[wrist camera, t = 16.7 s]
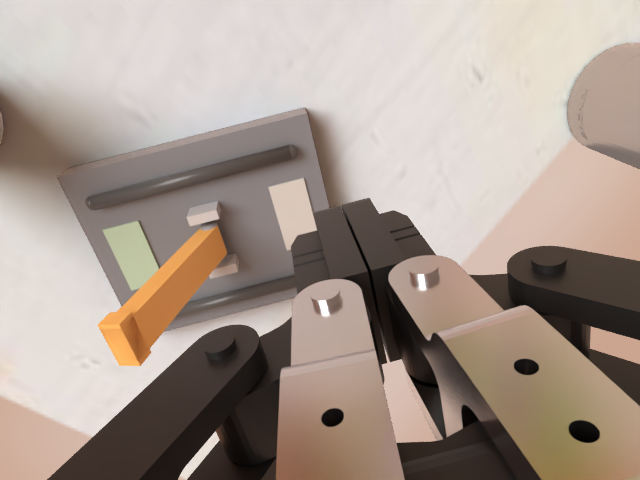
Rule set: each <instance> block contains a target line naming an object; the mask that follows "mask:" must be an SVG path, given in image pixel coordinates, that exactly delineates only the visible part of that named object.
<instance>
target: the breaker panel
mask: <svg viewBox="0 0 640 480" xmlns="http://www.w3.org/2000/svg"><path fill="white" fill-rule="evenodd" d="M57 178H58V180H59V182H60V184H61V186H62V188H63V190H64V192H65V194H66V196H67V198H68V200H69V202H70V204H71V206H72V208H73V210H74V212H75V214H76V216H77V218H78V220H79V222H80V224H81V226H82V228H83V230H84V232H85V234H86V236H87V238H88V240H89V242H90V244H91V246H92V248H93V250H94V252H95V254H96V256H97V258H98V260H99V262H100V264H101V266H102V268H103V270H104V272H105V274H106V276H107V278H108V280H109V282H110V284H111V286H112V288H113V290H114V292H115V294H116V296H117V298H118V300H119V302H120V304H121V306H123V305H124V304H125V303H126V302H127V301H128V300H129V299H130V298H131V297H132V296H133V295H134V294H135V293H136V292H137V291H138V290H139V289H140V288H141V287H142V286H143V285H144V284H145V283H146V282H147V281H148V280H149V279H150V278H151V277H152V276H153V275H154V274H155V273H156V272H157V271H158V270H159V269H160V268H161V267H162V266H163V265H164V264H165V263H166V262H167V261H168V260H169V259H170V258H171V257H172V256H173V255H174V254H175V253H176V252H177V251H178V250H179V249H180V248H181V247H182V246H183V245H184V244H185V243H186V242H187V241H188V240H189V239H190V238H191V237H192V236H193V235H194V234H195V233H196V232H197V231H198V230H199V229H200V226H201V225H202V224H203V223H205V222H209V221H213V220H215V221H217V224H218V227H219V230H220V233H221V235H222V238H223V241H224V244H225V247H226V249H227V252H228V255H227V256H226V257H224V258H223V259H222V260H221V262H220V263H219V264H218V265H217V266H216V268H215V269H214V270H213V271H212V273H211V274H210V275H209V276H208V278H207V279H206V280H205V281H204V282H203V284H202V285H201V286H200V287H199V289H198V290H197V291H196V292H195V293H194V295H193V296H192V297H191V298H190V300H189V301H188V302H187V303H186V305H185V306H184V307H183V308H182V309H181V311H180V312H179V313H178V314H177V316H176V317H175V318H174V319H173V320H172V322H171V323H170V324H169V325H168V327H167V328H166V329H165V330H164V331H167V330H171V329H175V328H179V327H183V326H186V325H190V324H194V323H198V322H202V321H206V320H210V319H213V318H217V317H221V316H225V315H229V314H233V313H237V312H240V311H244V310H248V309H252V308H256V307H260V306H263V305H267V304H271V303H275V302H279V301H283V300H287V299H290V298H294V297H296V296H297V288H296V280H295V273H294V266H293V258H292V252H291V245H292V244H293V242H294V240H295V239H296V237H297V235H301V234H305V233H309V232H313V231H316V230H317V228H316V224H315V220H314V216H313V212H317V211H320V210H324V209H328V208H329V204H328V200H327V195H326V191H325V187H324V183H323V178H322V174H321V170H320V166H319V162H318V157H317V153H316V149H315V145H314V140H313V136H312V132H311V128H310V124H309V119H308V115H307V112H306V110H305V108H300V109H296V110H292V111H289V112H285V113H281V114H277V115H273V116H269V117H265V118H261V119H257V120H254V121H250V122H246V123H242V124H238V125H234V126H230V127H226V128H222V129H218V130H215V131H211V132H207V133H203V134H199V135H195V136H191V137H187V138H183V139H179V140H176V141H172V142H168V143H164V144H160V145H156V146H152V147H148V148H144V149H141V150H137V151H133V152H129V153H125V154H121V155H117V156H113V157H109V158H105V159H102V160H98V161H94V162H90V163H86V164H82V165H78V166H74V167H70V168H68V169H67V170H65V171H64V172H63V173H62V174H61V175H59V176H58V177H57Z"/></svg>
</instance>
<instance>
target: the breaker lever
mask: <svg viewBox="0 0 640 480" xmlns="http://www.w3.org/2000/svg"><path fill="white" fill-rule="evenodd" d="M227 255H228V252H227V249H226V247H225V244H224V241H223V238H222V235H221V233H220V230H219V227H218V224H217V221H215V220H213V221H209V222H205V223H203V224H202V225H201V226H200V229H199V230H198V231H197V232H196V233H195V234H194V235H193V236H192V237H191V238H190V239H189V240H188V241H187V242H186V243H185V244H184V245H183V246H182V247H181V248H180V249H179V250H178V251H177V252H176V253H175V254H174V255H173V256H172V257H171V258H170V259H169V260H168V261H167V262H166V263H165V264H164V265H163V266H162V267H161V268H160V269H159V270H158V271H157V272H156V273H155V274H154V275H153V276H152V277H151V278H150V279H149V280H148V281H147V282H146V283H145V284H144V285H143V286H142V287H141V288H140V289H139V290H138V291H137V292H136V293H135V294H134V295H133V296H132V297H131V298H130V299H129V300H128V301H127V302H126V303H125V304H124V305H123V306H122V307H121V308H120V309H119V310H118V311H117V312H112V313H109V314H108V315H107V316H106V317H105V318H104V319H103V320H102V321H101V322H100V323H99V324H98V327H99V329H100V330H101V332H102V334H103V336H104V338H105V340H106V341H107V343H108V345H109V347H110V349H111V351H112V353H113V354H114V356H115V358H116V360H117V362H118V364H119V365H121V366H141V365H142V363H143V362H144V361H145V360H146V358H147V357H148V356H149V355H150V353H151V351H150V347H151V346H152V345H153V344H154V343H155V341H156V340H157V339H158V338H159V336H160V335H161V334H162V333H163V332H164V330H165V329H166V328H167V327H168V325H169V324H170V323H171V322H172V320H173V319H174V318H175V317H176V316H177V314H178V313H179V312H180V311H181V309H182V308H183V307H184V306H185V305H186V303H187V302H188V301H189V300H190V298H191V297H192V296H193V295H194V293H195V292H196V291H197V290H198V289H199V287H200V286H201V285H202V284H203V282H204V281H205V280H206V279H207V278H208V276H209V275H210V274H211V273H212V271H213V270H214V269H215V268H216V266H217V265H218V264H219V263H220V262H221V260H222V259H223V258H224V257H226V256H227Z"/></svg>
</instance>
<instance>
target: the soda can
mask: <svg viewBox="0 0 640 480" xmlns="http://www.w3.org/2000/svg"><path fill="white" fill-rule="evenodd" d="M3 132H4V127H3V119H2V114H1V112H0V144H1V141H2V137H3Z"/></svg>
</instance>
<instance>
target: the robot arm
mask: <svg viewBox="0 0 640 480" xmlns="http://www.w3.org/2000/svg"><path fill="white" fill-rule="evenodd" d="M567 116H568V124H569V127H570V130H571V132H572V134H573V135H574V137H575V138H576V139H577V140H578V141H579V142H580V143H581V144H582V145H584V146H586V147H588V148H590V149H592V150H595V151H598V152H600V153H602V154H605V155H607V156H610V157H612V158H614V159H616V160H619V161H621V162H623V163H626V164H628V165H631V166H633V167H636V168H638V169H640V43H625V44H621V45H617V46H614V47H612V48H610V49H608V50H606V51H604V52H603V53H601V54H600V55H598V56H597V57H596V58H594V59H593V60H592V61H591V62H590V63H589V64H588V65H587V66H586V67H585V68H584V70H583V71H582V73H581V74H580V75H579V77H578V78H577V80H576V82H575V84H574V86H573V88H572V90H571V94H570V97H569V100H568V109H567ZM342 211H343V212H342ZM313 216H314V220H315V224H316V228H317V230H316V231H313V232H309V233H305V234H301V235H297V237H296V239H295V240H294V242H293V244H292V245H291V252H292V258H293V266H294V273H295V280H296V288H297V296H296V297H295V299H294V301H293V303H292V317H291V318H290V319H289V320H288V321H287V322H285V323H284V324H283V325H281V326H280V327H278V328H276V329H275V330H273V331H271V332H269V333H267V334H265V335H263V336H261V337H259V336H258V334H257V332H256V331H255V330H254V329H253V328H251V327H249V326H245V325H229V326H225V327H221V328H218V329H215V330H213V331H211V332H209V333H207V334H205V335H204V336H202V337H201V338H199V339H198V340H197V341H196V342H195V343H194V344H193V345H191V346H190V347H189V348H188V349H187V350H186V351H185V352H184V353H183V354H182V355H181V356H180V357H179V358H177V359H176V360H175V361H174V362H173V363H172V364H171V365H170V366H169V367H168V368H167V369H166V370H165V371H164V372H162V373H161V374H160V375H159V376H158V377H157V378H156V379H155V380H154V381H153V382H152V383H151V384H150V385H148V386H147V387H146V388H145V389H144V390H143V391H142V392H141V393H140V394H139V395H138V396H137V397H136V398H134V399H133V400H132V401H131V402H130V403H129V404H128V405H127V406H126V407H125V408H124V409H123V410H122V411H121V412H119V413H118V414H117V415H116V416H115V417H114V418H113V419H112V420H111V421H110V422H109V423H108V424H107V425H105V426H104V427H103V428H102V429H101V430H100V431H99V432H98V433H97V434H96V435H95V436H94V437H93V438H91V439H90V440H89V441H88V442H87V443H86V444H85V445H84V446H83V447H82V448H81V449H80V450H79V451H78V452H76V453H75V454H74V455H73V456H72V457H71V458H70V459H69V460H68V461H67V462H66V463H65V464H64V465H62V466H61V467H60V468H59V469H58V470H57V471H56V472H55V473H54V474H53V475H52V476H51V477H50V478H48V479H47V480H178V478H179V476H180V474H181V472H182V470H183V469H184V467H185V466H186V465H187V464H188V463H189V461H190V460H191V459H192V458H193V457H194V456H195V454H196V453H197V452H198V451H199V450H200V448H201V447H202V446H203V445H204V444H205V443H206V441H207V440H208V439H209V438H210V437H211V436H212V434H213V433H214V432H215V431H216V433H217V435H218V437H219V439H220V441H219V442H218V443H217V444H216V445H215V447H214V448H213V449H212V450H211V451H210V453H209V454H208V455H207V456H206V457H205V459H204V460H203V461H202V462H201V463H200V465H199V466H198V467H197V468H196V469H195V471H194V472H193V473H192V474H191V475H190V477H189V478H188V479H187V480H640V364H636V363H634V362H631V361H627V360H624V359H621V358H618V357H615V356H611V355H608V354H605V353H602V352H598V351H596V350H592V349H590V329H591V326H592V327H595V328H599V329H602V330H606V331H609V332H613V333H616V334H620V335H623V336H627V337H630V338H634V339H638V340H640V261H636V260H630V259H625V258H620V257H614V256H609V255H603V254H598V253H592V252H587V251H581V250H576V249H570V248H565V247H558V246H540V247H533V248H529V249H525V250H523V251H520V252H518V253H516V254H515V255H513V256H512V257H511V258H510V259H509V261H508V263H507V274H496V275H468V274H467V273H466V272H465V271H464V270H463V269H462V268H461V267H460V266H459V265H458V264H457V263H456V262H455V261H453V260H452V259H449V258H447V257H443V256H436V254H435V253H434V252H433V250H432V249H431V248H430V246H429V245H428V243H427V242H426V241H425V239H424V238H423V237H422V235H420V233H419V231H418V230H417V229H416V227H414V224H413V223H412V222H411V220H410V219H409V218H408V216H406V215H403V214H401V213H399V212H396V211H394V210H393V211H390V212H386V213H382V214H379V213H378V211H377V210H376V208H375V206H374V205H373V203H372V202H371V200H370V198H367V199H363V200H359V201H355V202H351V203H347V204H343V205H342V210H341V207H340V206H336V207H332V208H328V209H324V210H320V211H317V212H313ZM383 345H384V346H383ZM384 347H385V350H386V352H387V355H388V358H389V360H390V362H392V361H396V360H400V359H402V360H403V363H404V365H405V369H406V374H407V380H408V385H409V388H410V390H411V392H412V394H413V396H414V398H415V400H416V402H417V404H418V405H419V407H420V409H421V411H422V413H423V415H424V417H425V419H426V421H427V423H428V425H429V427H430V429H431V430H432V432H433V434H434V436H435V438H436V440H437V441H434V442H410V443H396V439H395V435H394V431H393V426H392V422H391V417H390V412H389V408H388V404H387V400H386V395H385V390H384V386H383V385H384V374H383V370H382V365H381V364H385V363H387V360H386V355H385V350H384Z"/></svg>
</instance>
